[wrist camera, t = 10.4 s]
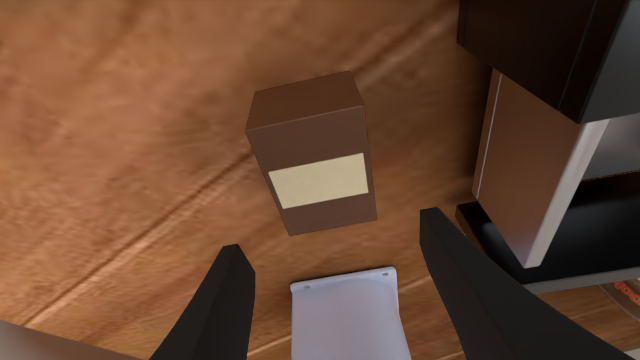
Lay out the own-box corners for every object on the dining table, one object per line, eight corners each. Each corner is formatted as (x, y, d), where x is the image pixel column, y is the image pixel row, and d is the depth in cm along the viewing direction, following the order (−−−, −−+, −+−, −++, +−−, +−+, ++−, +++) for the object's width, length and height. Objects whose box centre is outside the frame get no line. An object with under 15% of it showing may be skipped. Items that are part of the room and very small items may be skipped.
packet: (290, 189, 20) (289, 237, 17) (254, 91, 15) (244, 131, 12) (364, 175, 19) (377, 221, 16) (349, 70, 15) (364, 106, 12)
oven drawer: (627, 221, 23) (717, 299, 18) (449, 251, 24) (489, 332, 19) (838, -82, 11) (1235, -94, 7) (483, 1, 13) (600, 44, 8)
